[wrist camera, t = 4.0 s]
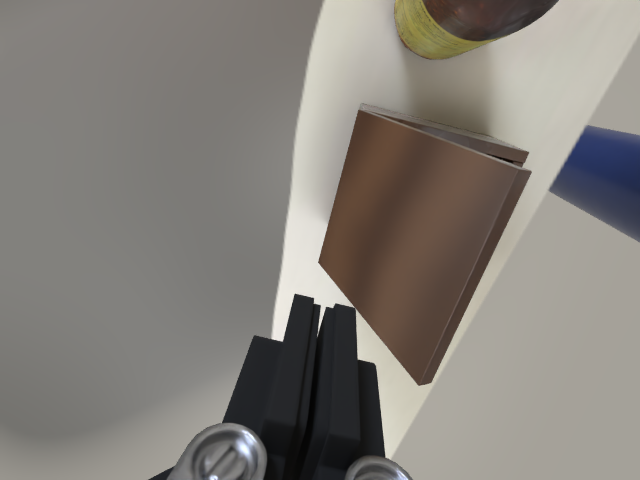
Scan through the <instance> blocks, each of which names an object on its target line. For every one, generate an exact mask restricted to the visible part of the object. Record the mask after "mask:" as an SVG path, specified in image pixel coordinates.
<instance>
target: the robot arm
mask: <svg viewBox="0 0 640 480" xmlns="http://www.w3.org/2000/svg"><path fill="white" fill-rule="evenodd" d="M313 303H314V298H311V297H307V296H303V295H298V294H295V295H294V299H293V303H292V307H291V311H290V315H289V319H288V323H287V327H286V331H285V335H284V340H283V342H281V341H276V340H272V339H268V338H264V337H259V336H254V337H253V339H252V342H251V345H250V347H249V350H248V353H247V356H246V359H245V361H244V364H243V367H242V369H241V372H240V375H239V378H238V380H237V383H236V386H235V389H234V391H233V395H232V397H231V400H230V402H229V405H228V409H227V411H226V414H225V416H224V419H223V422H222V423H219V424H216V425H213V426H210V427H207V428H206V429H204V430H203V431H201V432H200V433H199V434H197V435H196V436H195V437H194V439H193V440H192V441H191V442H190V443H189V444H188V446H187V447H186V449H185V451H184V452H183V454H182V455H181V457H180V459H179V460H178V462H177V464H176V465H175V466H174V467H172V468H170V469H168V470H166V471H164V472H162V473H160V474H158V475H156V476H154V477H153V478H151V479H149V480H412V478H411V477H410V476H409V474H408V473H407V472H406V471H405V470H404V469H403V468H402V467H400V466H399V465H398V464H397V463H395V462H393V461H391V460H389V459H387V458H385V449H384V439H383V429H382V419H381V409H380V399H379V390H378V380H377V370H376V365H375V364H374V363H370V362H366V361H362V360H358V359H357V333H356V310H355V308H353V307H349V306H345V305H340V304H336V303H335V305H334V308H330V307H326V309H325V313H324V316H323V320H322V323H321V326H320V330H319V333H318V325H319V316H320V308H321V305H317V304H313ZM317 334H318V337H317Z"/></svg>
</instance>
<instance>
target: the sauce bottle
mask: <svg viewBox="0 0 640 480" xmlns="http://www.w3.org/2000/svg"><path fill="white" fill-rule="evenodd" d="M557 2H558V0H396V1H395V7H394V14H395V24H396V28H397V30H398V33H399V36H400V38H401V41H402V43H403V44H404V45H405V47H407V48H408V49H409V50H411V51H412V52H414V53H415V54H417V55H419V56H421V57H424V58H427V59H447V58H451V57H454V56H457V55H459V54H462V53H464V52H467V51H469V50H472V49H474V48H477V47H480V46H482V45H485V44H487V43H490V42H492V41H495V40H497V39H500V38H502V37H505V36H508V35H510V34H512V33H514V32H517V31H519V30H521V29H523V28H524V27H526V26H528V25H530V24H531V23H533V22H534V21H536V20H537V19H539V18H540V17H542V16H543V15H544V14H545V13H546V12H547V11H548V10H550V9H551V8H552V7H553V6H554V5H555V4H556V3H557Z"/></svg>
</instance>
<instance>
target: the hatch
mask: <svg viewBox="0 0 640 480" xmlns="http://www.w3.org/2000/svg"><path fill="white" fill-rule="evenodd" d="M531 173H532V172H531V171H530V170H527V169H524V168H522V167H519V166H516V165H514V164H511V163H508V162H505V161H503V160H500V159H497V158H495V157H492V156H489V155H486V154H484V153H481V152H478V151H476V150H473V149H470V148H467V147H465V146H462V145H459V144H457V143H454V142H451V141H448V140H446V139H443V138H440V137H438V136H435V135H432V134H429V133H427V132H424V131H421V130H419V129H416V128H413V127H410V126H408V125H405V124H402V123H400V122H397V121H394V120H391V119H389V118H386V117H383V116H381V115H378V114H375V113H372V112H370V111H365V110H361V109H359V110H358V114H357V117H356V121H355V125H354V129H353V133H352V136H351V140H350V144H349V148H348V152H347V155H346V159H345V163H344V167H343V170H342V174H341V178H340V182H339V186H338V189H337V193H336V197H335V201H334V204H333V208H332V212H331V216H330V220H329V223H328V227H327V231H326V235H325V239H324V242H323V246H322V250H321V254H320V257H319V261H318V263H319V264H320V265H321V267H322V268H323V269H324V270H325V271H326V273H327V274H328V275H329V276H330V278H331V279H332V280H333V281H334V282H335V284H336V285H337V286H338V287H339V289H340V290H341V291H342V292H343V293H344V295H345V296H346V297H347V298H348V300H349V301H350V302H351V303H352V305H353V306H354V307H355V308H356V309H357V311H358V312H359V313H360V314H361V316H362V317H363V318H364V319H365V320H366V322H367V323H368V324H369V325H370V327H371V328H372V329H373V330H374V332H375V333H376V334H377V335H378V336H379V338H380V339H381V340H382V341H383V343H384V344H385V345H386V346H387V347H388V349H389V350H390V351H391V352H392V354H393V355H394V356H395V357H396V359H397V360H398V361H399V362H400V363H401V365H402V366H403V367H404V368H405V370H406V371H407V372H408V373H409V374H410V376H411V377H412V378H413V379H414V381H415V382H416V383H417V384H418V385H419V386H420V385H425V384H429V383H431V382H432V380H433V378H434V376H435V374H436V372H437V369H438V367H439V365H440V363H441V361H442V359H443V357H444V355H445V353H446V351H447V349H448V346H449V344H450V342H451V340H452V338H453V336H454V334H455V332H456V330H457V328H458V326H459V323H460V321H461V319H462V317H463V315H464V313H465V311H466V309H467V307H468V305H469V303H470V300H471V298H472V296H473V294H474V292H475V290H476V288H477V286H478V284H479V282H480V279H481V277H482V275H483V273H484V271H485V269H486V267H487V265H488V263H489V261H490V259H491V256H492V254H493V252H494V250H495V248H496V246H497V244H498V242H499V240H500V238H501V236H502V233H503V231H504V229H505V227H506V225H507V223H508V221H509V219H510V217H511V215H512V213H513V210H514V208H515V206H516V204H517V202H518V200H519V198H520V196H521V194H522V192H523V190H524V187H525V185H526V183H527V181H528V179H529V177H530V175H531Z"/></svg>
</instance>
